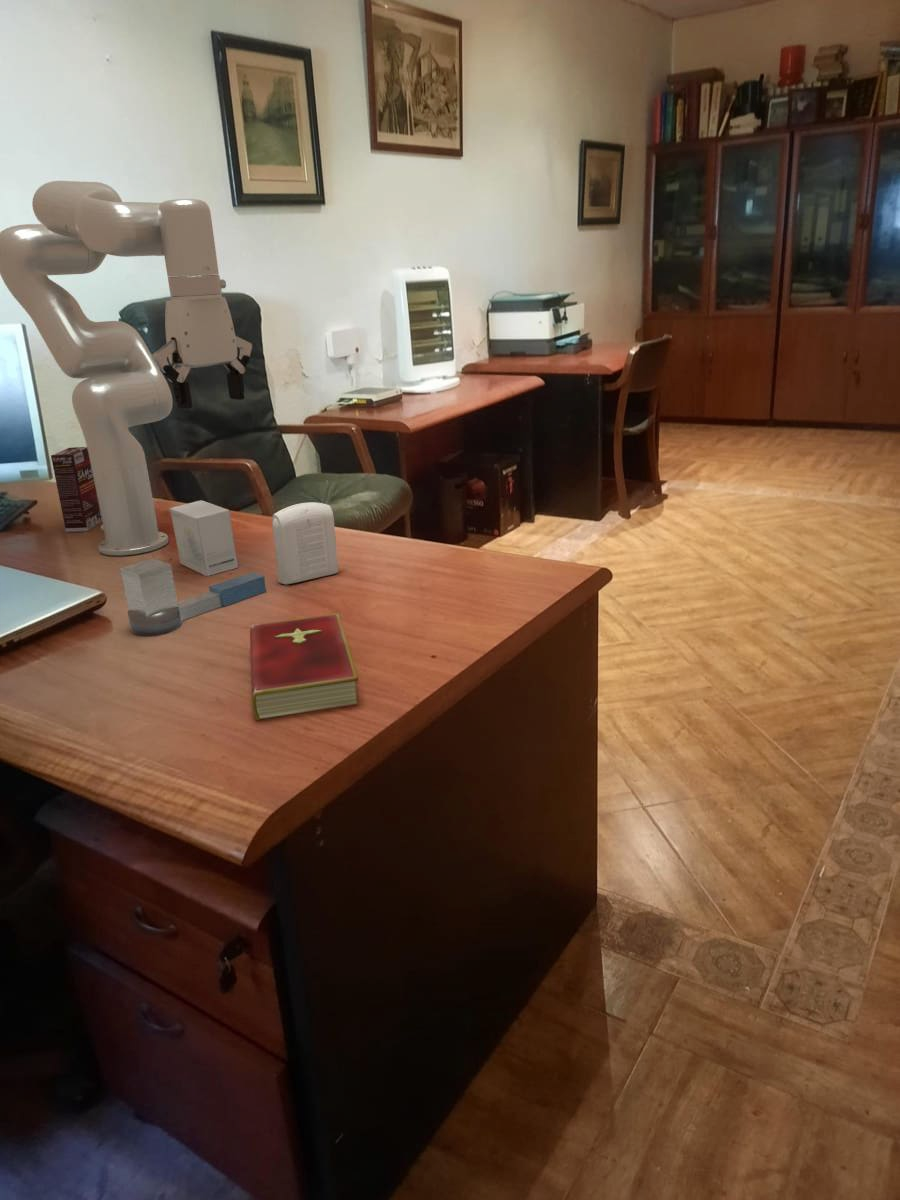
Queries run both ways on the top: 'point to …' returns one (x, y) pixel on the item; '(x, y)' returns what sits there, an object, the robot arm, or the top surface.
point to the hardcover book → (301, 666)
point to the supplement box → (76, 489)
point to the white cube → (149, 587)
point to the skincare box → (204, 537)
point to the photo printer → (304, 542)
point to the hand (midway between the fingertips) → (211, 403)
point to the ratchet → (198, 605)
